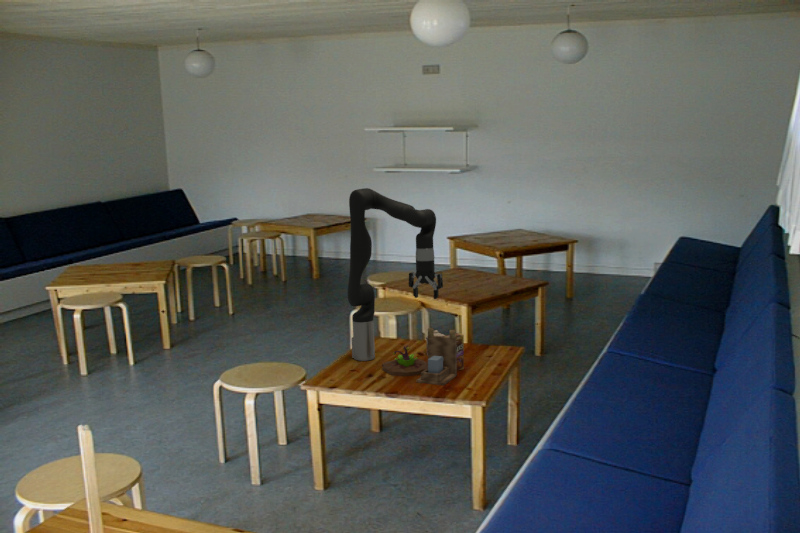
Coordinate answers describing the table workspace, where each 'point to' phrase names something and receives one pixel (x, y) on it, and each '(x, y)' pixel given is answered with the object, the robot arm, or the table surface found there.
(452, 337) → the chair
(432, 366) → the block
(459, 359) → the candy box
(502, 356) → the table surface
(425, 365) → the plant
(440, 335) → the teacup with lid
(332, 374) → the table surface
